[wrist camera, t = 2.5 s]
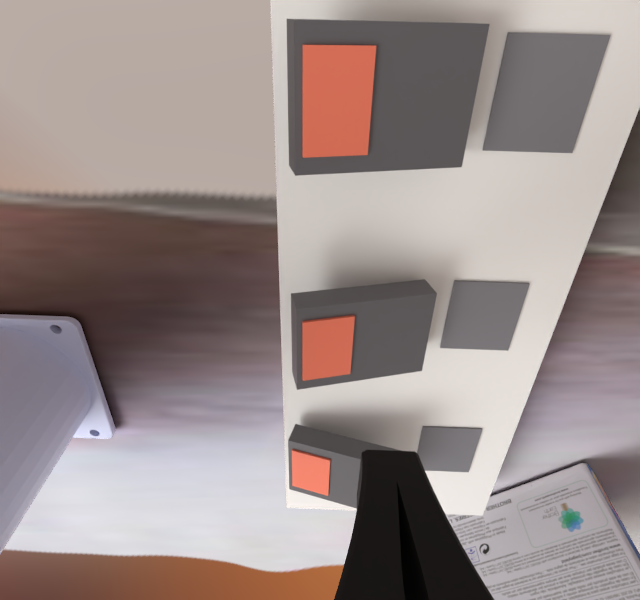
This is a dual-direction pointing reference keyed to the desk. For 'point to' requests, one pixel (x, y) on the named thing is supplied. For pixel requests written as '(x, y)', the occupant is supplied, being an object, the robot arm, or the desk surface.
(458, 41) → the block
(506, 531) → the ink cartridge box
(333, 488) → the rocker far end
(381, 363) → the rocker middle
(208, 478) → the desk surface
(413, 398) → the power strip
